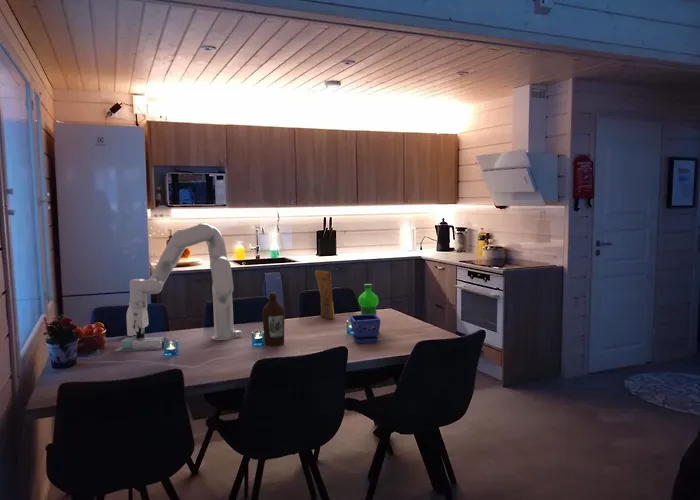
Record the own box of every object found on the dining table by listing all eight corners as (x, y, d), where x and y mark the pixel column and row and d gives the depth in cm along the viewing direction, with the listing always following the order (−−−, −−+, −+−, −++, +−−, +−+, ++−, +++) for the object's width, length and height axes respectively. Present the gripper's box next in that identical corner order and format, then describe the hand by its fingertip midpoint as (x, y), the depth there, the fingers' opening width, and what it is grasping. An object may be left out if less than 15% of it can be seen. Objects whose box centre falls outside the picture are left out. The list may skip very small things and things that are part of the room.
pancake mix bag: (327, 320, 320) (325, 272, 318) (315, 314, 337) (313, 269, 335) (337, 318, 323) (336, 271, 321) (325, 313, 340) (324, 268, 338)
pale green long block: (168, 346, 262) (168, 336, 262) (166, 348, 259) (165, 338, 258) (124, 348, 262) (123, 337, 261) (121, 350, 258) (120, 339, 258)
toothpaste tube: (166, 345, 266) (166, 336, 265) (164, 346, 262) (164, 338, 262) (126, 346, 265) (126, 337, 265) (124, 348, 262) (123, 339, 262)
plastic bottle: (362, 335, 280) (360, 286, 278) (357, 330, 290) (356, 283, 288) (381, 333, 282) (380, 285, 280) (376, 329, 292) (374, 282, 290)
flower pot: (381, 343, 261) (381, 318, 260) (354, 345, 259) (353, 320, 258) (375, 337, 274) (375, 313, 273) (349, 339, 272) (349, 315, 271)
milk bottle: (137, 337, 288) (135, 299, 287) (124, 337, 290) (122, 299, 288) (145, 333, 296) (143, 297, 294) (133, 333, 297) (130, 297, 296)
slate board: (181, 340, 277) (181, 339, 277) (169, 350, 257) (169, 349, 257) (129, 342, 277) (129, 340, 277) (113, 352, 257) (113, 351, 257)
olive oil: (260, 343, 268) (258, 292, 266) (281, 340, 273) (279, 290, 271) (266, 347, 259) (264, 295, 257) (288, 344, 263) (286, 293, 261)
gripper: (141, 307, 259) (143, 345, 260) (151, 301, 274) (153, 338, 275) (125, 307, 259) (127, 345, 260) (136, 302, 274) (138, 338, 275)
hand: (140, 341), depth 268 cm, fingers closed
